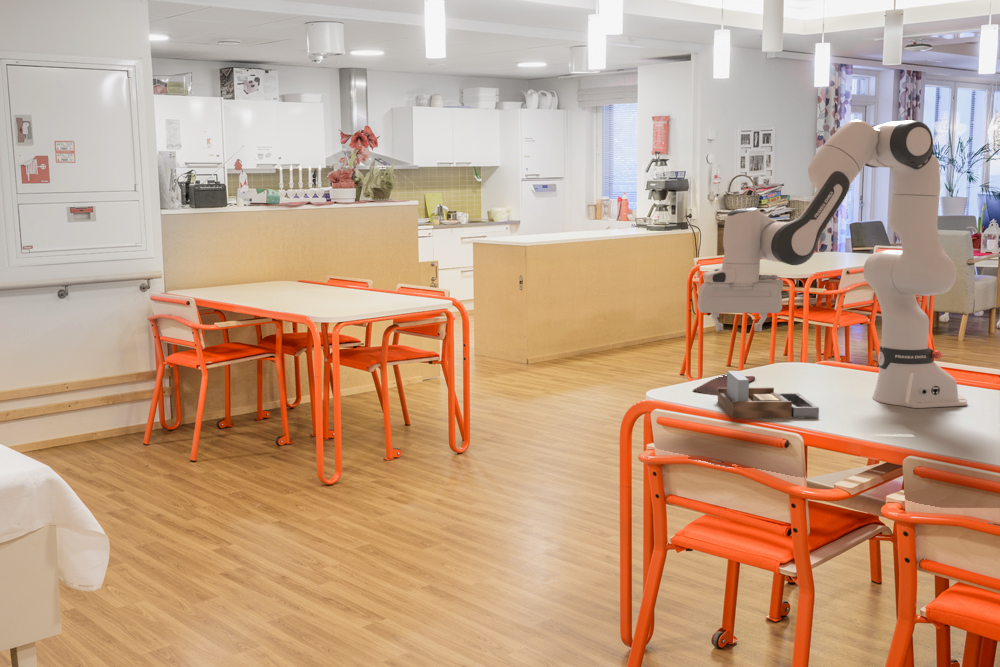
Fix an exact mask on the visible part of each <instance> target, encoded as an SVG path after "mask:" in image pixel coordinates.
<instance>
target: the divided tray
mask: <svg viewBox="0 0 1000 667" xmlns="http://www.w3.org/2000/svg"><path fill="white" fill-rule="evenodd" d="M774 389H775V387H749V395H748V401H731V400H730V399H729V398H728V397H727V388H718V395H717V403H718V405H719V406H721V407H722V409H723V410H724V409H725V410H726V411H725V410H724V411H725V412H726V413H727V414H728V415H729V416H730V418H731V419H792V417H791V413H792V404H793V403H792V402H791V401H785V400H783V399H782V398H781V397H779V396H778V395H777V394H776V393H777V392H774V391H775V390H774ZM753 394H772V395H773V396H775V397H776V398H777V399H779V401H753Z"/></svg>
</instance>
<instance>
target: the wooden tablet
mask: <svg viewBox="0 0 1000 667" xmlns="http://www.w3.org/2000/svg"><path fill="white" fill-rule="evenodd" d="M725 375H727V373H725V374H722V375H721V376H723V377H719V376H718V378H717V377H715V378H713V379H711V380H709V381H706V382H705V383H703V384H701V385H700V386H698V387H696V388H694V389H692V392H695V391H696V393H700V392H701V393H702V394H705V393H708V394H707V395H712V394H713V395H714V396H718V388H727V376H725ZM745 377H746V378H747V379H748V380H749V383H751V382H753V381H755V380H756V376H753V375H749V376H748V375H746V376H745ZM701 393H700V394H701Z"/></svg>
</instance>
